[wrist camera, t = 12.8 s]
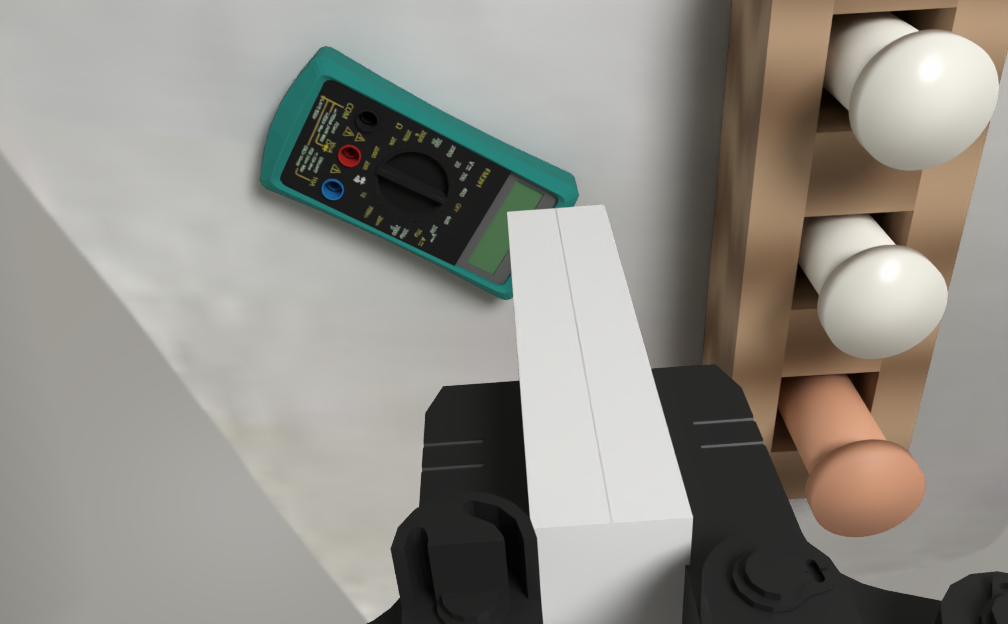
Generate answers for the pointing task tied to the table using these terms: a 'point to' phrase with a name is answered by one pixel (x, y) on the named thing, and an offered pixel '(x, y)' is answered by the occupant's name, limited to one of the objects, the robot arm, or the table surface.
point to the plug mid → (869, 286)
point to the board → (819, 209)
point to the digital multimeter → (405, 170)
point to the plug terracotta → (848, 457)
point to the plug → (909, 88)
